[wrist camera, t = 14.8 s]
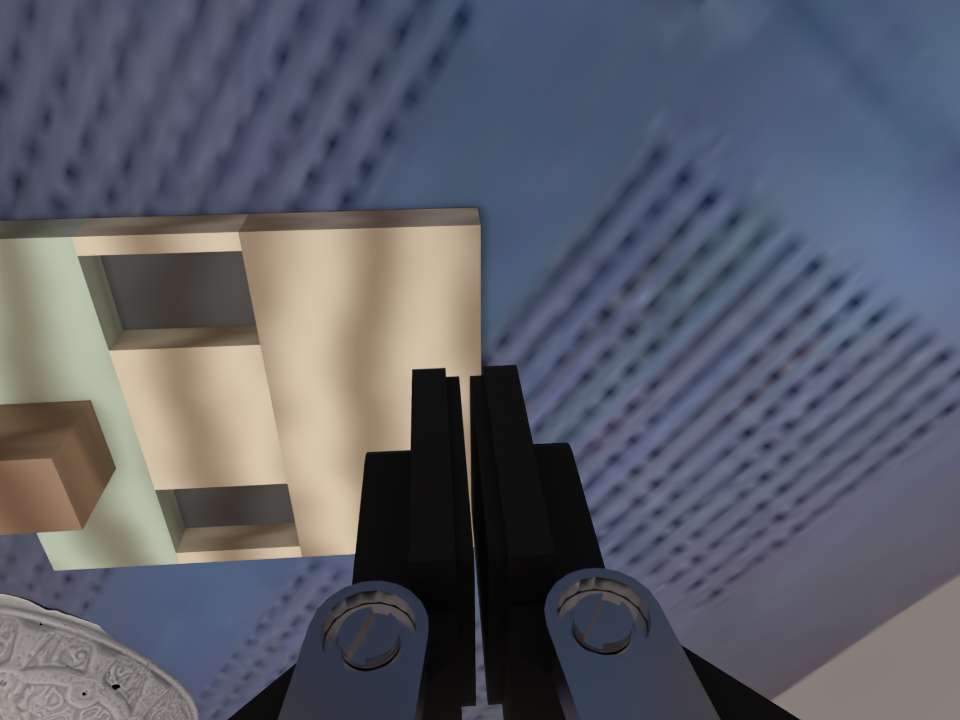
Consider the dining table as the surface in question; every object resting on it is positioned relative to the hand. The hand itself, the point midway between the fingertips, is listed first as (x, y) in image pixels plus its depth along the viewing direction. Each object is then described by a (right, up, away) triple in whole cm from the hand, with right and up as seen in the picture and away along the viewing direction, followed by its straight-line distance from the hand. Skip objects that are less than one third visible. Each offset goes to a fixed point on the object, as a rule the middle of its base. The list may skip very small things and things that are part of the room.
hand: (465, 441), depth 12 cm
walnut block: (-24, -3, +29) cm, 38 cm away
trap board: (-14, -1, +31) cm, 34 cm away
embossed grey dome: (-33, -24, +45) cm, 61 cm away
